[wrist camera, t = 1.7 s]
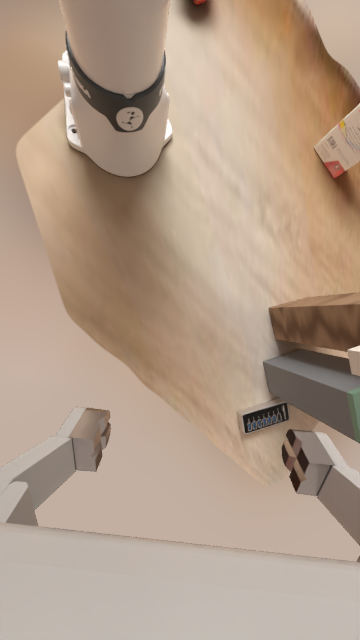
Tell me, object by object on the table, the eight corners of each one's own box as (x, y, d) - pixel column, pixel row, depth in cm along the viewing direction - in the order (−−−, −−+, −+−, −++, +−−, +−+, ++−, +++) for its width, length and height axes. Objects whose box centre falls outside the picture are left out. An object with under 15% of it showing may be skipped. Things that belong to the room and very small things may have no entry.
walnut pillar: (268, 307, 48) (421, 301, 23) (307, 297, 50) (487, 280, 25) (275, 339, 49) (431, 366, 23) (313, 327, 51) (495, 341, 25)
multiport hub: (235, 409, 48) (241, 414, 45) (280, 396, 50) (287, 400, 48) (239, 429, 48) (244, 435, 46) (283, 415, 50) (290, 420, 48)
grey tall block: (263, 361, 48) (352, 394, 29) (301, 349, 50) (410, 371, 31) (269, 392, 49) (361, 444, 29) (307, 378, 51) (417, 419, 31)
